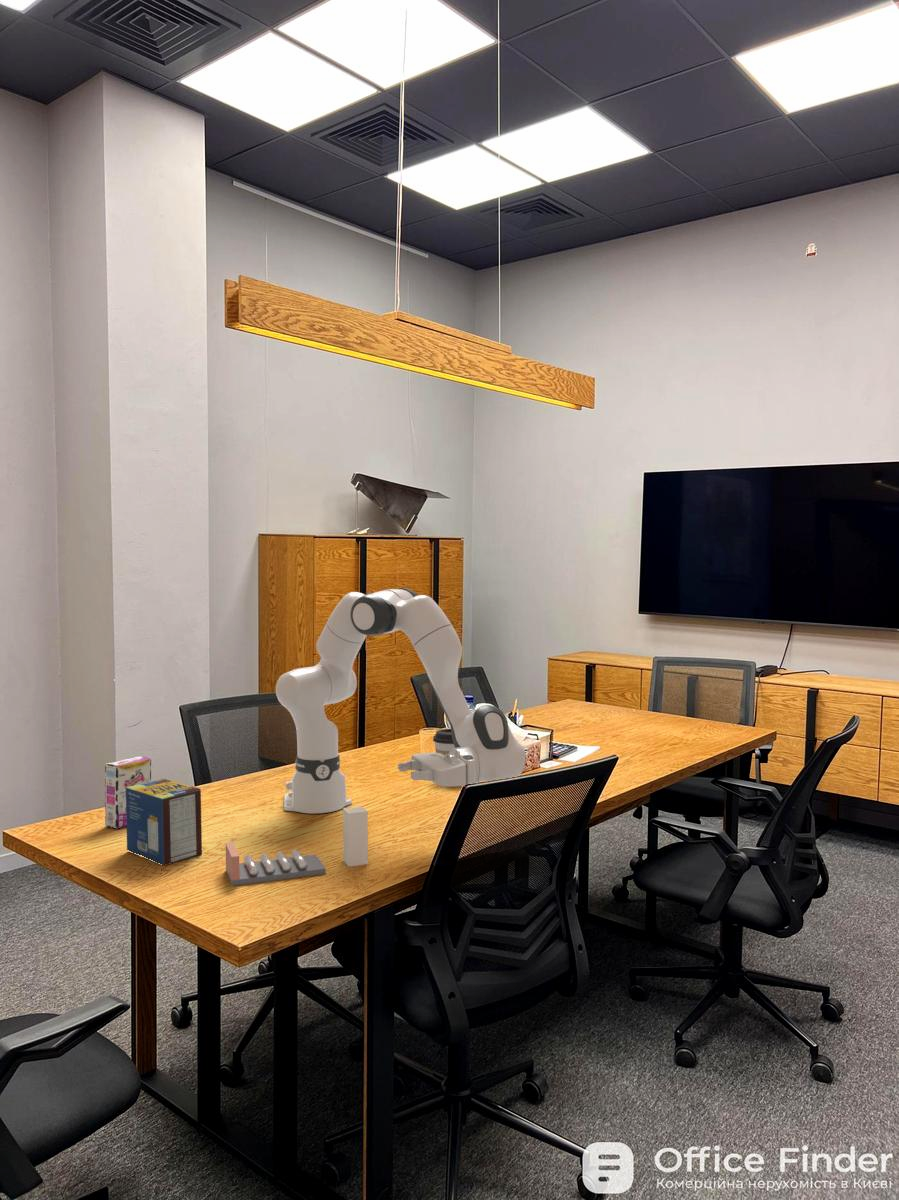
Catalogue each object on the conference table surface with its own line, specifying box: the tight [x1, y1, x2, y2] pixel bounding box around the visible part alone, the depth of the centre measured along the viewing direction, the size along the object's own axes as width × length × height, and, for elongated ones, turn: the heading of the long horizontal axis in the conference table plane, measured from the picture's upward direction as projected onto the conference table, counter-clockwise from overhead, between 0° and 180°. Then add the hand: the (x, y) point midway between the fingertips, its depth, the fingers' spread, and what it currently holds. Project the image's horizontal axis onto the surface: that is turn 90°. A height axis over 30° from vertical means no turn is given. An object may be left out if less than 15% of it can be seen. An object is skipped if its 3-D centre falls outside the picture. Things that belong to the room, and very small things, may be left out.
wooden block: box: [342, 805, 369, 867], centre depth 203 cm, size 4×4×12 cm
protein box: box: [126, 778, 203, 866], centre depth 209 cm, size 10×15×16 cm
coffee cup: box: [432, 728, 455, 755], centre depth 277 cm, size 11×11×15 cm
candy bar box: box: [104, 756, 152, 830], centre depth 232 cm, size 11×5×16 cm, turn 149°
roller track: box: [225, 841, 327, 887], centre depth 196 cm, size 10×20×6 cm, turn 111°
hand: (405, 771), depth 208 cm, fingers open, 8 cm apart
